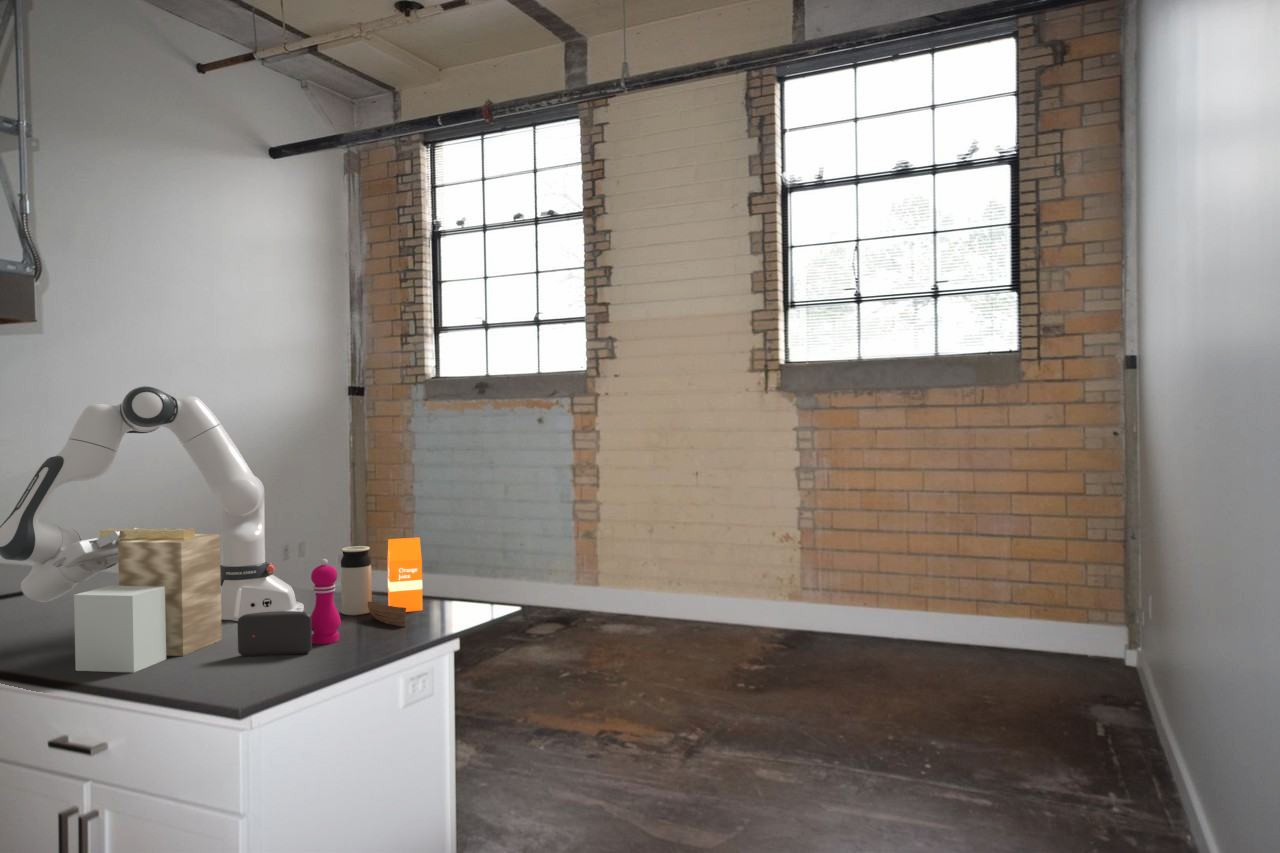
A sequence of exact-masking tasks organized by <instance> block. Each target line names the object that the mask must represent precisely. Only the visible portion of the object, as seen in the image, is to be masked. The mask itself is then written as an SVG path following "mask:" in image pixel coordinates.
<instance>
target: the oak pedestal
mask: <svg viewBox="0 0 1280 853" xmlns="http://www.w3.org/2000/svg"><path fill="white" fill-rule="evenodd" d="M117 565H118V586H163V587H165V617H166V656H174V657H177V656H178V657H179V656H180V657H184V656H186V655H189V654H192V653H193V652H196V651H199V650H201V649H204V648H206V647H208V646H210V645H213V644H215V642H216V643H217V642H220V641H222V640H223V639H222V638H223V637H222V636H223V634H222V633H223V632H222V619H221V578H220V565H221V533H220V534H219V533H213V534H212V533H195V537H193V538H188V539H132V540H126V541H121V542H118V564H117Z"/></svg>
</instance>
